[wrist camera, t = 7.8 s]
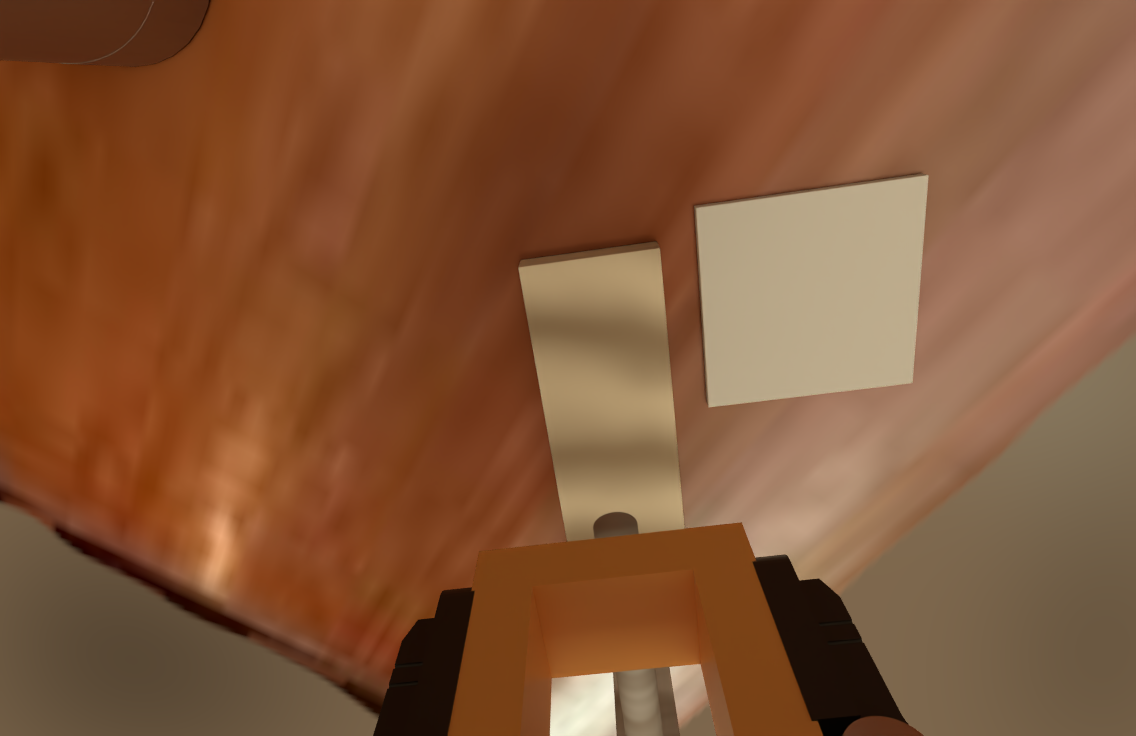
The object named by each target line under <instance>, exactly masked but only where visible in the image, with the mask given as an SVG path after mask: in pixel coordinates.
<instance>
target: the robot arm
mask: <svg viewBox="0 0 1136 736" xmlns="http://www.w3.org/2000/svg"><path fill="white" fill-rule="evenodd" d="M208 3H209V0H0V60H7V61H28V62H49V63H62V64H84V65H106V66H129V67H137V66H143V65H150V64H155V63H158V62H160V61H162V60H165V59H167V58H169V57H171V56H173V55H175V54H176V53H177V52H178V51H179V50H181V49H182V48H183V47H184V46H185V45H187V44H188V43H189V41H190V40H191V39H192V37H193V36H194V34H195V33H196V32H197V30H198V29H199V27H200V25H201V23H202V20H203V18H204V15H205V13H206V10H207V7H208ZM755 559H756V561H752V562H753V565H754V568H755V571H756V573H757V576H758V579H759V581H760V584H761V587H762V589H763V592H764V595H765V597H766V600H767V603H768V605H769V608H770V611H771V613H772V616H773V619H774V621H775V624H776V627H777V629H778V632H779V635H780V637H781V640H782V643H783V645H784V648H785V651H786V653H787V656H788V659H789V661H790V664H791V667H792V670H793V672H794V675H795V678H796V680H797V683H798V686H799V688H800V691H801V694H802V696H803V699H804V702H805V704H806V707H807V710H808V712H809V715H810V718H811V720H812V721H818V723H819V726H820V729H821V731H822V734H823V736H923V735H922V734H921V733H920V732H919V731H917V730H916V729H914V728H913V727H911V726H909V725H908V723H907V722H906V721H905V719H904V718H903V716H902V715H901V713H900V711H899V709H898V707H897V705H896V703H895V701H894V700H893V698H892V696H891V694H890V692H889V690H888V688H887V686H886V684H885V682H884V680H883V678H882V676H881V675H880V673H879V671H878V669H877V667H876V665H875V663H874V661H873V659H872V657H871V656H870V653H869V652H868V650H867V648H866V646H865V644H864V643H863V642H862V639H861V636H860V634H859V632H858V630H857V629H856V627H855V625H854V624H853V623H852V619H851V617H850V615H849V613H848V611H847V609H846V607H845V606H844V604H843V602H842V600H841V598H840V597H839V596H838V595H837V594H836V593H835V592H834V591H833V590H831V589H830V588H829V587H828V586H827V585H826V584H825V583H823V582H822V581H821V580H820V579H811V580H801V581H799V579H798V577H797V575H796V572H795V570H794V568H793V566H792V564H791V561H790V559H789V558H788V556H787V555H776V556H767V557H757V558H755ZM471 590H472V587H471V588H461V589H452V590H444V591H442V593H441V595H440V598H439V602H438V606H437V610H436V614H435V618H430V619H421V620H418V621H417V622H416V623H415V625H414V626H413V627H412V629H411V630H410V631H409V633H408V634H407V635H406V637H405V638H404V639H403V640H402V643H401V646H400V649H399V653H398V656H397V659H396V663H395V669H393V672H392V676H391V679H390V682H389V689H387V692H386V695H385V699H384V702H383V705H382V708H381V712H380V715H379V718H378V722H377V725H376V728H375V731H374V735H373V736H448V731H449V725H450V720H451V715H452V709H453V704H454V699H455V693H456V688H457V683H458V678H459V672H460V667H461V662H462V656H463V651H464V646H465V641H466V635H467V630H468V625H469V619H470V614H471V609H472V604H473V598H474V593H475V591H471Z"/></svg>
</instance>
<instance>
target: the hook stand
mask: <svg viewBox="0 0 1136 736" xmlns="http://www.w3.org/2000/svg"><path fill="white" fill-rule="evenodd" d="M518 269H519V275H520V280H521V286H522V291H523V297H524V303H525V308H526V314H527V319H528V325H529V331H530V336H531V342H532V347H533V353H534V359H535V364H536V370H537V375H538V381H539V387H540V392H541V398H542V403H543V409H544V415H545V420H546V426H547V431H548V437H549V443H550V448H551V454H552V459H553V465H554V471H555V476H556V482H557V487H558V493H559V499H560V504H561V510H562V515H563V521H564V527H565V532H566V538H567V542H569V541H578V540H587V539H596V538H605V537H614V536H623V535H633V534H642V533H651V532H660V531H669V530H678V529H684V517H683V506H682V495H681V483H680V472H679V460H678V449H677V438H676V426H675V415H674V403H673V392H672V381H671V369H670V358H669V346H668V335H667V324H666V312H665V301H664V289H663V278H662V267H661V255H660V247H659V245H658V243H657V241H655V242H648V243H641V244H633V245H626V246H619V247H612V248H604V249H597V250H590V251H583V252H576V253H568V254H561V255H554V256H547V257H539V258H532V259H525V260H521V261H520V264H519V267H518ZM613 678H614V695H615V713H616V730H617V736H680V733H679V726H678V720H677V713H676V707H675V701H674V694H673V688H672V681H671V675H670V668H669V667H662V668H651V669H641V670H631V671H620V672H613Z"/></svg>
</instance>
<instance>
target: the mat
mask: <svg viewBox="0 0 1136 736" xmlns="http://www.w3.org/2000/svg"><path fill="white" fill-rule="evenodd" d="M927 187H928V175H926V174H916V175H909V176H902V177H895V178H888V179H881V180H873V181H866V182H859V183H852V184H845V185H838V186H831V187H824V188H817V189H810V190H803V191H796V192H789V193H782V194H775V195H768V196H761V197H754V198H747V199H739V200H732V201H725V202H718V203H711V204H704V205H697V206H694V212H695V228H696V243H697V259H698V274H699V290H700V305H701V321H702V336H703V352H704V367H705V383H706V398H707V404H708V407H716V406H724V405H732V404H741V403H749V402H758V401H766V400H774V399H783V398H791V397H800V396H808V395H816V394H825V393H833V392H842V391H850V390H858V389H867V388H875V387H884V386H892V385H900V384H909V383H912V382H913V369H914V356H915V343H916V330H917V317H918V304H919V291H920V278H921V265H922V252H923V239H924V226H925V213H926V200H927Z"/></svg>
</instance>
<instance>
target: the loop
mask: <svg viewBox="0 0 1136 736" xmlns="http://www.w3.org/2000/svg"><path fill="white" fill-rule="evenodd" d="M752 561H756V559H755V556H754V554H753V551H752V548H751V546H750V543H749V541H748V538H747V535H746V533H745V530H744V528H743V525H742V522H741V523H732V524H723V525H714V526H705V527H696V528H687V529H678V530H669V531H660V532H651V533H642V534H633V535H623V536H614V537H605V538H596V539H587V540H578V541H569V542H560V543H551V544H542V545H533V546H524V547H515V548H506V549H497V550H487V551H479V555H478V560H477V565H476V570H475V575H474V580H473V585H472V590H471V591H475V593H474V598H473V604H472V609H471V614H470V619H469V625H468V630H467V635H466V641H465V646H464V651H463V656H462V662H461V667H460V672H459V678H458V683H457V688H456V693H455V699H454V704H453V709H452V715H451V720H450V725H449V731H448V736H550V710H551V681H552V678H558V677H569V676H579V675H589V674H600V673H610V672H620V671H631V670H641V669H651V668H662V667H672V666H682V665H693V664H701V668H702V672H703V677H704V681H705V686H706V690H707V695H708V699H709V704H710V708H711V713H712V717H713V722H714V727H715V731H716V736H823V734H822V731H821V729H820V726H819V723H818V721H812V720H811V718H810V715H809V712H808V710H807V707H806V704H805V702H804V699H803V696H802V694H801V691H800V688H799V686H798V683H797V680H796V678H795V675H794V672H793V670H792V667H791V664H790V661H789V659H788V656H787V653H786V651H785V648H784V645H783V643H782V640H781V637H780V635H779V632H778V629H777V627H776V624H775V621H774V619H773V616H772V613H771V611H770V608H769V605H768V603H767V600H766V597H765V595H764V592H763V589H762V587H761V584H760V581H759V579H758V576H757V573H756V571H755V568H754V565H753V562H752Z"/></svg>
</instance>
